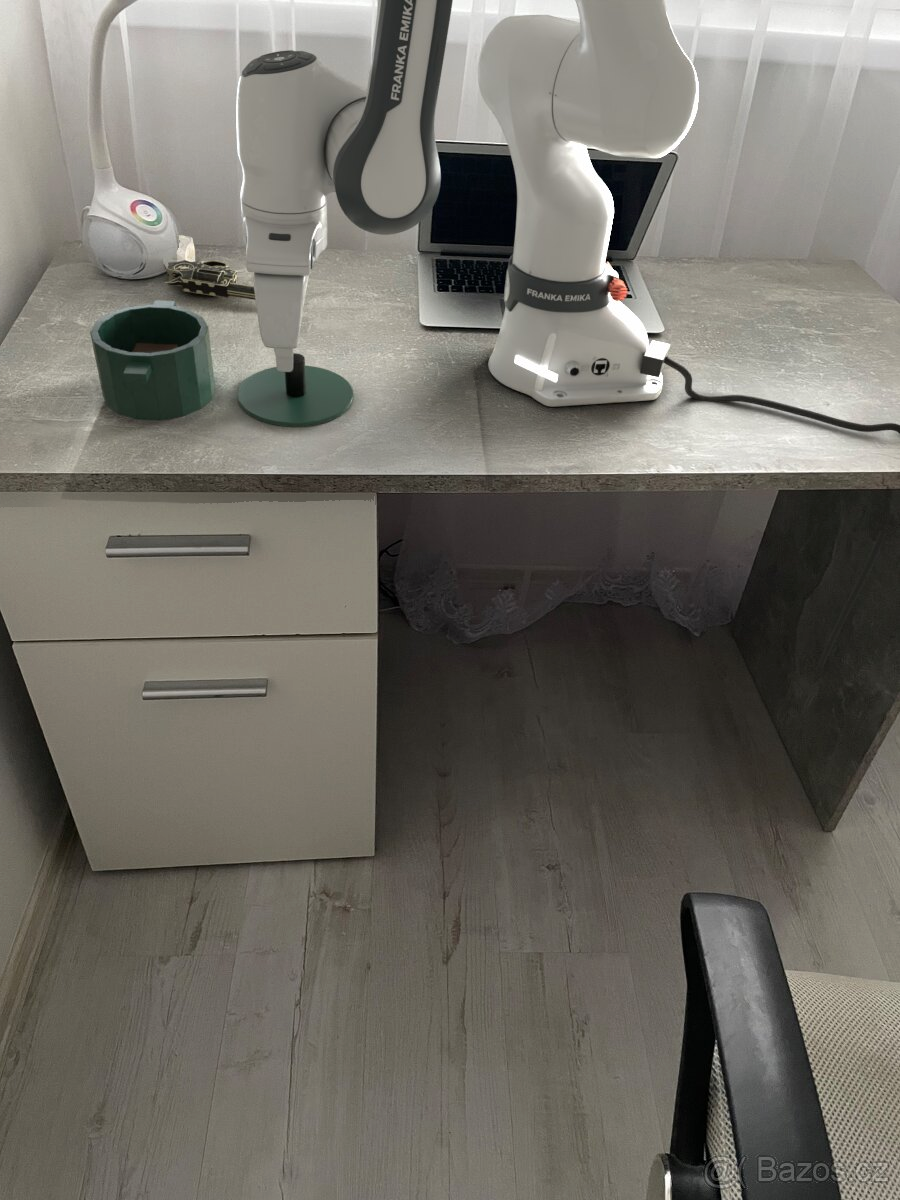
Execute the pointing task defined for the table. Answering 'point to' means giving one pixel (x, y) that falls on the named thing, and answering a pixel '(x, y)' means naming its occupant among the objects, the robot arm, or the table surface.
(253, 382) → the pot lid
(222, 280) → the revolver
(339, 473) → the table surface
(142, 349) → the walnut box
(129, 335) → the pot
